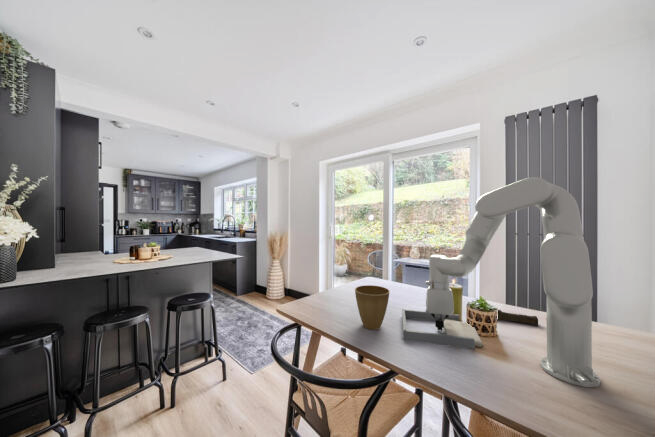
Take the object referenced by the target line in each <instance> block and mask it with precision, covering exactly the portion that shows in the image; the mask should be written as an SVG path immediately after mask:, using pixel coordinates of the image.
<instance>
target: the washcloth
mask: <svg viewBox="0 0 655 437" xmlns="http://www.w3.org/2000/svg"><path fill="white" fill-rule="evenodd" d="M467 322H468V321H460V320H459V321H455V320H447V319H445V321H444V328H443V329H444V334H445V335H453V336H462V337H470V338H474V347H481V348H482V347H483V346H484V344H483V340H482V339H481V337H480V336H479V333H478V331H477V329H476V327H475V326H474V327H472V326H471V325H470V324H468V323H467Z"/></svg>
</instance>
